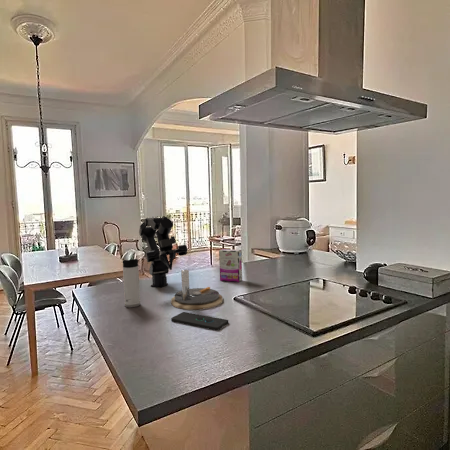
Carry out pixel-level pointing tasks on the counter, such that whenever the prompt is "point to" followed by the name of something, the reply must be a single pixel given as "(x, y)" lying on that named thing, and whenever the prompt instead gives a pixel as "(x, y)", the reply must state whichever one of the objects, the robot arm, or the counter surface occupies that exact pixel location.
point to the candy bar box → (230, 265)
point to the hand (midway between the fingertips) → (171, 269)
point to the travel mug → (131, 283)
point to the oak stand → (196, 307)
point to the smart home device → (200, 321)
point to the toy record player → (194, 293)
